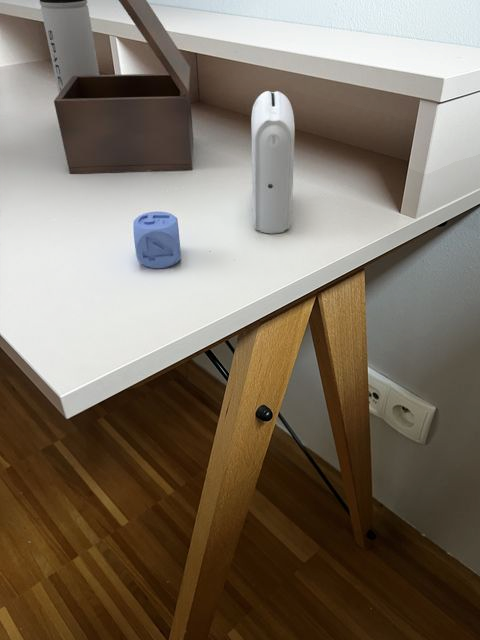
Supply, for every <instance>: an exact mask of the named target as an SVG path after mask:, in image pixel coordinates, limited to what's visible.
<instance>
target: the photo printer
mask: <svg viewBox="0 0 480 640" xmlns="http://www.w3.org/2000/svg"><path fill="white" fill-rule="evenodd" d="M250 117H251V118H250V121H251V122H250V125H251V126H250V127H251V132H250V133H251V135H250V136H251V137H250V138H251V173H252V174H251V190H252V191H251V192H252V193H251V195H252V196H251V199H252V200H251V203H252V204H251V211H252V221H253V226H254V229H255V230H259V232H260V233H263V234H281V233H284V232H285V231H286V230H289V229H290V225H291V221H292V211H293V194H294V193H293V191H294V163H295V162H294V161H295V159H294V158H295V133H296V132H295V131H296V130H295V116H294V111H293V107H292V104H291V102H290V100H289V99H288V97H287V96H286V95H285V94H284V93H282V92H281V91H278V90H276V91H269V90H266V91H263V92H262V93H261V94H260V95H258V96H257V98H256V99H255V101H254V103H253V105H252V110H251V116H250Z"/></svg>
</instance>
